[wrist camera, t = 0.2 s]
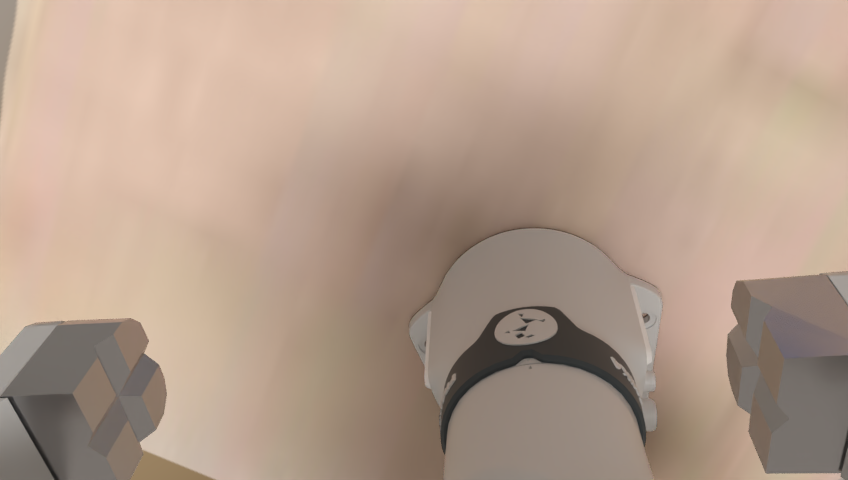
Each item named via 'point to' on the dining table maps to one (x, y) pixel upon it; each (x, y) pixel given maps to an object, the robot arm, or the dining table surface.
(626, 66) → the dining table surface
